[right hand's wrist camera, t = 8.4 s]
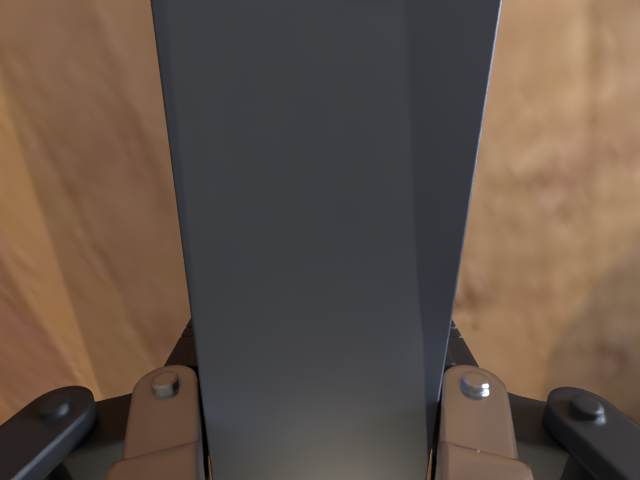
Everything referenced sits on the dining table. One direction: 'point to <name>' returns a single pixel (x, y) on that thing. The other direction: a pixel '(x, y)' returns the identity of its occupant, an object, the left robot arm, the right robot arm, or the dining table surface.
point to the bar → (323, 220)
